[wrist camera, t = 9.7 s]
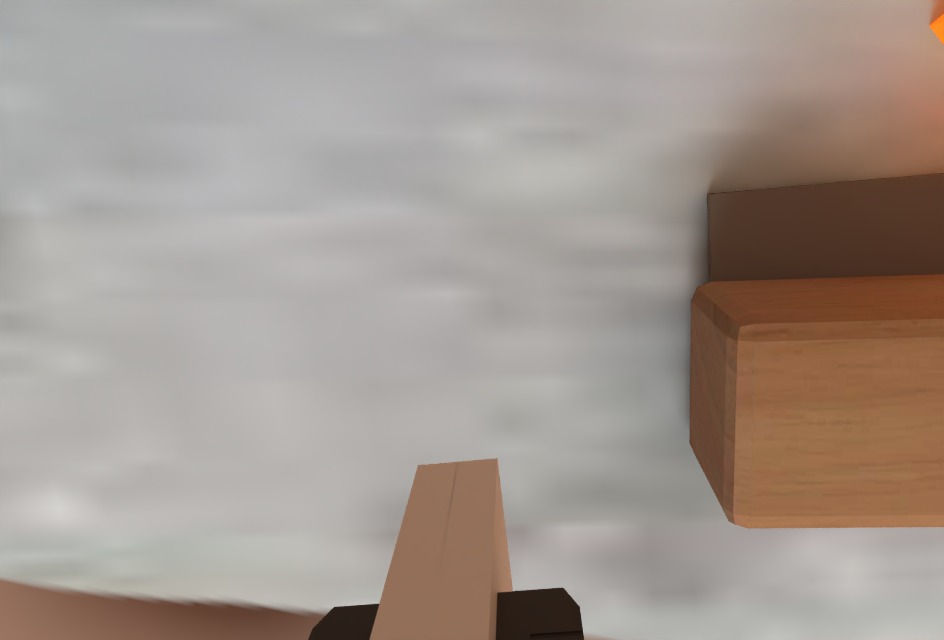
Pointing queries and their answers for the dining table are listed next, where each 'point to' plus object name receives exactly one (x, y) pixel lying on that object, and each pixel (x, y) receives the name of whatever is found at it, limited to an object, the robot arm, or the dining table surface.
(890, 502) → the wooden block
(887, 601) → the dining table surface
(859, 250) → the mat
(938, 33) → the orange juice
